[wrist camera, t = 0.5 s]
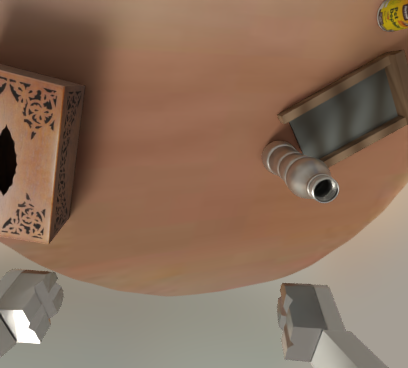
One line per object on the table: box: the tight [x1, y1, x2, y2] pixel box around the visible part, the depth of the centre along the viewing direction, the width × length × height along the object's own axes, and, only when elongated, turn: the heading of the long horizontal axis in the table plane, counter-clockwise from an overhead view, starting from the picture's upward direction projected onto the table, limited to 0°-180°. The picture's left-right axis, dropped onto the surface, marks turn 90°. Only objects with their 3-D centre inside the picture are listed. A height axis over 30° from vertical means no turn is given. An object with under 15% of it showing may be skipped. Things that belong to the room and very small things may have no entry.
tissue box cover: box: [0, 64, 85, 244], centre depth 47 cm, size 26×14×10 cm, turn 165°
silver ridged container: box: [262, 141, 339, 203], centre depth 47 cm, size 6×7×20 cm
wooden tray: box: [277, 50, 408, 168], centre depth 53 cm, size 23×14×4 cm, turn 119°
